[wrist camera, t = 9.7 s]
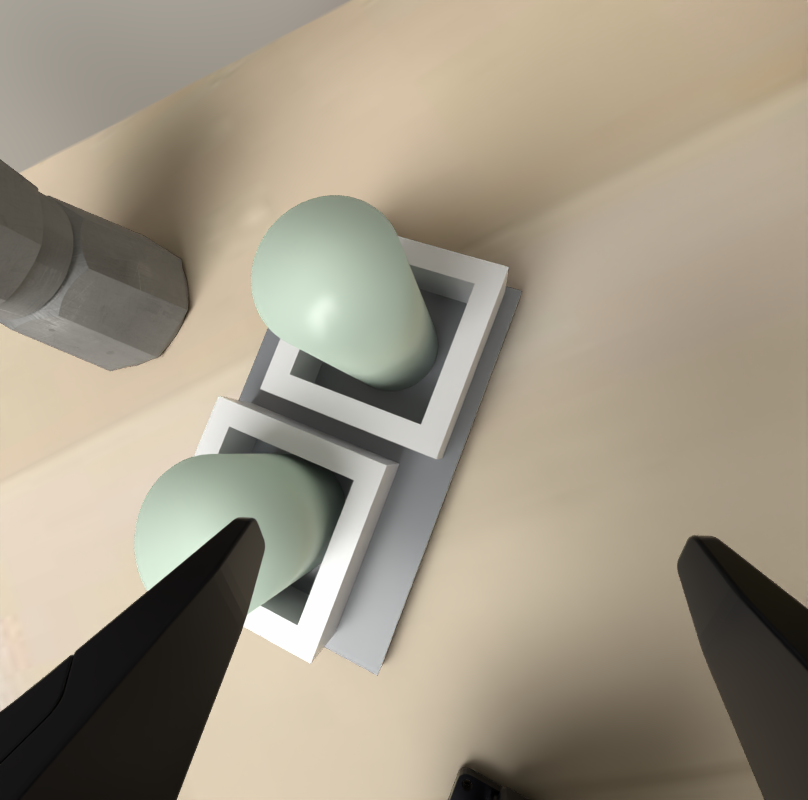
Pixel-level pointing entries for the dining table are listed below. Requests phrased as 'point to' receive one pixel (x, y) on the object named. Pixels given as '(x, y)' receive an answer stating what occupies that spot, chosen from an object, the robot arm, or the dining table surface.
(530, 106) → the dining table surface
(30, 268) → the coffeepot
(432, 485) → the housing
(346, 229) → the pale green rounded block
